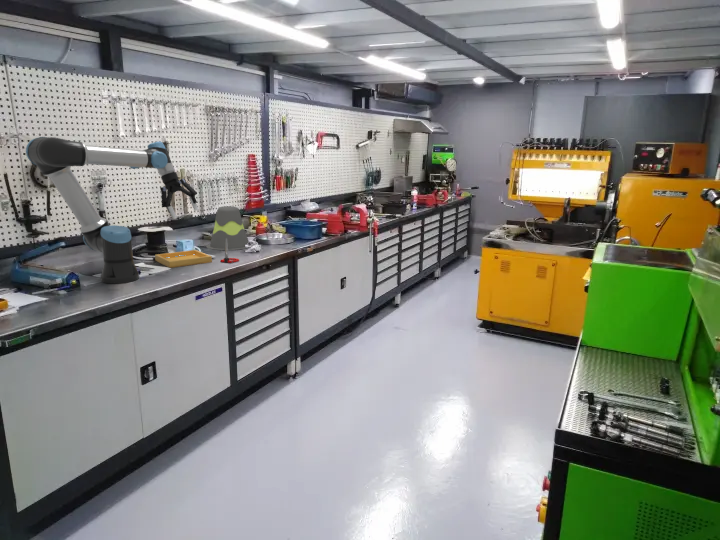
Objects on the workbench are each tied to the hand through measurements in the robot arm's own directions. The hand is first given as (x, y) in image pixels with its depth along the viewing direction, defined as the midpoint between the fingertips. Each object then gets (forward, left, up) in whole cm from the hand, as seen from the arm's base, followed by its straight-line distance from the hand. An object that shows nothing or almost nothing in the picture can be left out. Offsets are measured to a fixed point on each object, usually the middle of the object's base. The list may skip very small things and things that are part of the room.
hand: (185, 214), depth 237 cm
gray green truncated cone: (+39, +33, -26) cm, 57 cm away
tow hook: (+20, -5, -26) cm, 33 cm away
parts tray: (0, +8, -26) cm, 27 cm away
